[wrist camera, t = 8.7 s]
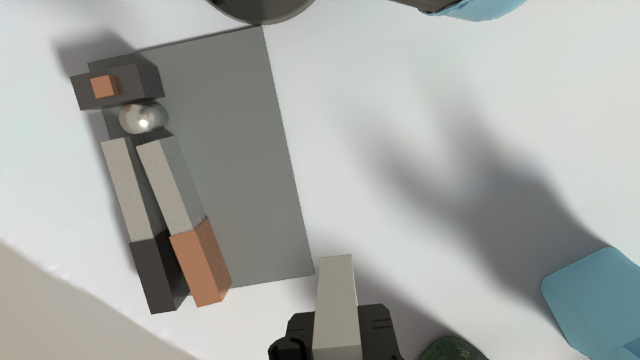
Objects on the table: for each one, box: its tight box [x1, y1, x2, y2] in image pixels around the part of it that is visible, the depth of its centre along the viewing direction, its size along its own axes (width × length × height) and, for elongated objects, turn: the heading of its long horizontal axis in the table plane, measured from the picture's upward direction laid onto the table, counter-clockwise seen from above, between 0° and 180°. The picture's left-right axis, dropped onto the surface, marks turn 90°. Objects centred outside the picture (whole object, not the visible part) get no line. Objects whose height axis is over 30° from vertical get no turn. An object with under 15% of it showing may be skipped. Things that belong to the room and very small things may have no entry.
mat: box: [87, 26, 314, 296], centre depth 43 cm, size 28×19×1 cm
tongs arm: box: [119, 104, 232, 308], centre depth 41 cm, size 22×3×5 cm, turn 17°
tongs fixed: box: [70, 63, 190, 314], centre depth 40 cm, size 26×7×6 cm, turn 11°
